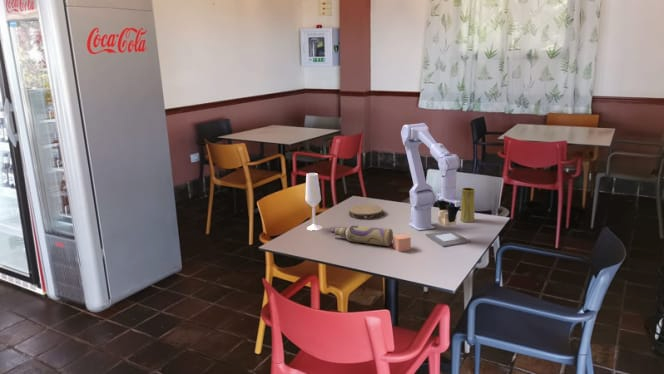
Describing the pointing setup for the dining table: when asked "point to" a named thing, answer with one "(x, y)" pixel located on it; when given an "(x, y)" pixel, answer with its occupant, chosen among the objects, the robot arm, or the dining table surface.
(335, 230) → the decorative bottle
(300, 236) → the dining table surface
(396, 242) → the terracotta block
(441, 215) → the beech block
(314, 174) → the champagne flute
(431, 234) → the baseplate
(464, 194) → the vase
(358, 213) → the wood slice
